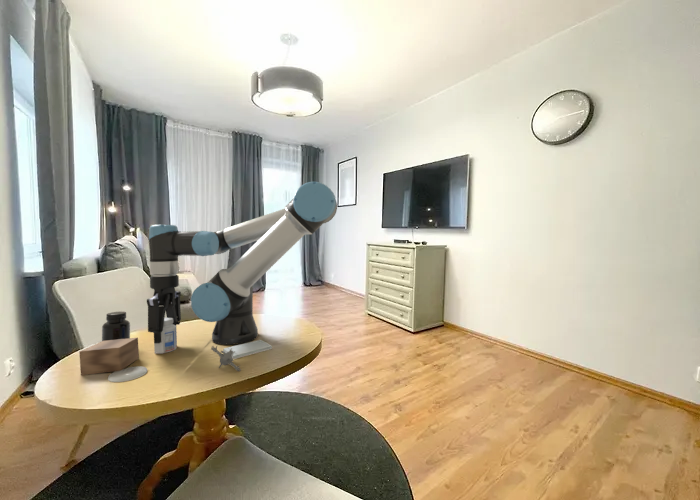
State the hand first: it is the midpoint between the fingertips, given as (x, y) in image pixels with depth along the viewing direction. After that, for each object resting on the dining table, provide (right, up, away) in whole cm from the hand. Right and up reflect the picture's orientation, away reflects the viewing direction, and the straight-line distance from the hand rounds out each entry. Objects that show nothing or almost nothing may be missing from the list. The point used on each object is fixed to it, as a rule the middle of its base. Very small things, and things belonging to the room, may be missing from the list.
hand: (166, 349), depth 92 cm
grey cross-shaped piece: (+23, -2, -12) cm, 26 cm away
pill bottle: (0, -1, 0) cm, 1 cm away
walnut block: (-7, -1, -12) cm, 14 cm away
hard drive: (+25, -2, +2) cm, 25 cm away
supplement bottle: (-15, -1, -1) cm, 15 cm away
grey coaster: (+1, -1, -17) cm, 17 cm away
